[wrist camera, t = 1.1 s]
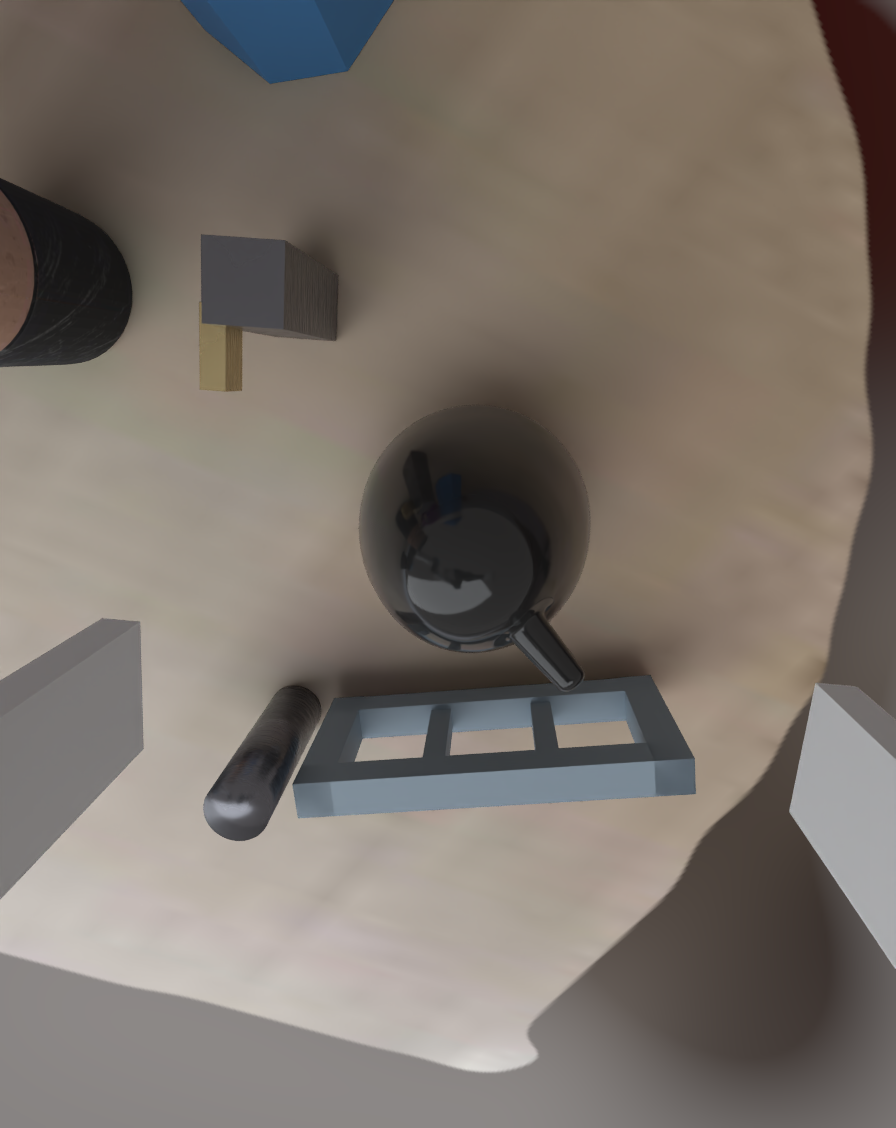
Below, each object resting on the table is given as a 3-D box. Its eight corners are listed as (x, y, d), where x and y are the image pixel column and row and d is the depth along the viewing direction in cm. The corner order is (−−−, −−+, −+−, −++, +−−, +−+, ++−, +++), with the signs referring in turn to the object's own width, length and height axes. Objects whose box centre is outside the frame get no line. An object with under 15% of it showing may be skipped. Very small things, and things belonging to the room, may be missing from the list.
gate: (334, 698, 40) (292, 784, 32) (650, 675, 39) (694, 758, 31) (338, 726, 41) (298, 818, 32) (651, 703, 40) (695, 793, 31)
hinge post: (270, 730, 42) (203, 837, 32) (270, 683, 41) (203, 778, 32) (320, 735, 42) (268, 843, 32) (321, 688, 41) (269, 784, 31)
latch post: (263, 386, 37) (188, 390, 28) (265, 270, 36) (187, 233, 27) (334, 392, 37) (282, 397, 28) (338, 275, 36) (285, 240, 27)
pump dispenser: (475, 643, 40) (466, 798, 25) (334, 501, 39) (238, 579, 24) (623, 511, 38) (708, 598, 23) (480, 356, 37) (473, 344, 22)
